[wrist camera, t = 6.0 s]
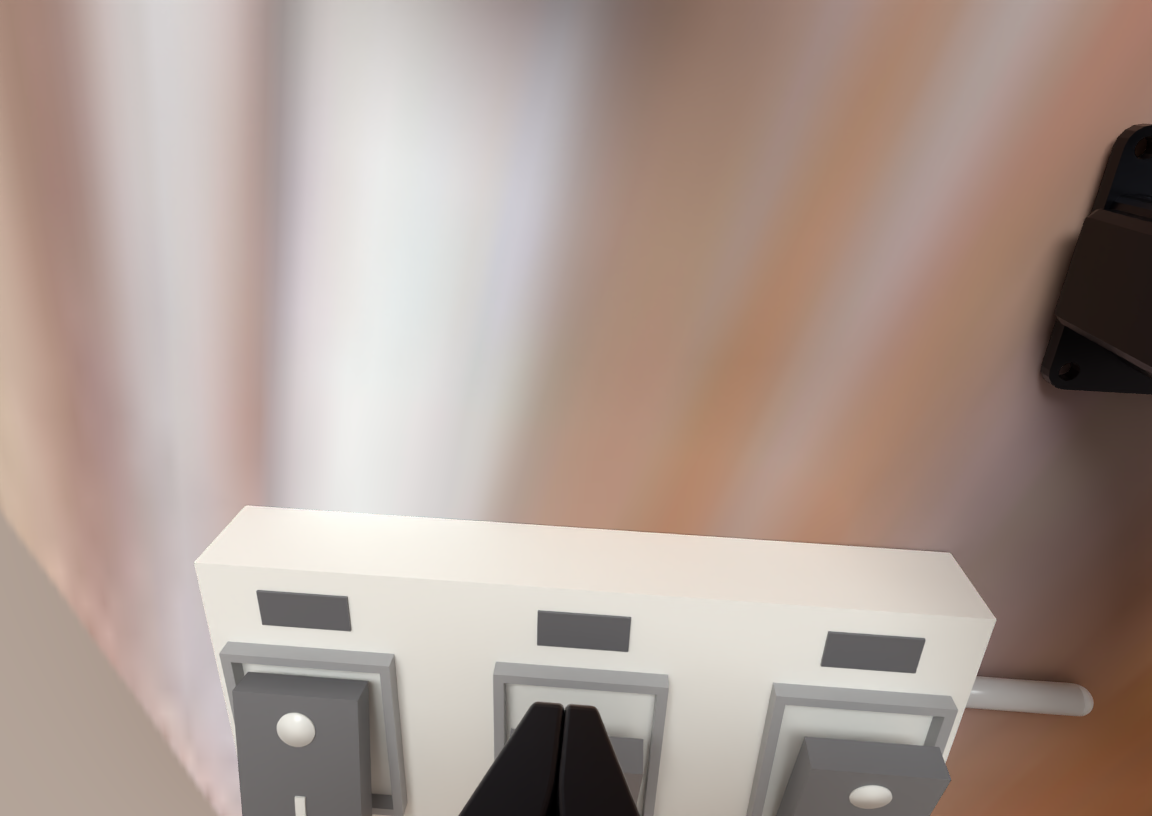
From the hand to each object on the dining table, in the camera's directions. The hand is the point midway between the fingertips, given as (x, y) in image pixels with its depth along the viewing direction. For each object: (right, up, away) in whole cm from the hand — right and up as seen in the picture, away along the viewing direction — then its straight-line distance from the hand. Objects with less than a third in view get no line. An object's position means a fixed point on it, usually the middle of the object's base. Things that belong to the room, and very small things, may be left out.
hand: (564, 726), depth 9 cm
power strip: (+3, -4, +15) cm, 16 cm away
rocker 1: (-8, -6, +12) cm, 16 cm away
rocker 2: (+8, -7, +11) cm, 16 cm away
